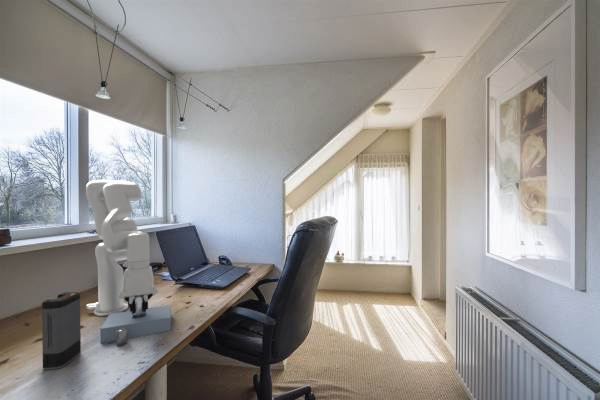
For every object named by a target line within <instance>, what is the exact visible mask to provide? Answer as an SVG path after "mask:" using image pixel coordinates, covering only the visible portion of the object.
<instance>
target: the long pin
mask: <svg viewBox="0 0 600 400" xmlns="http://www.w3.org/2000/svg"><path fill="white" fill-rule="evenodd" d="M143 302H144V295H139V296H134V317H135V318H140V317H144V312H143Z"/></svg>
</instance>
